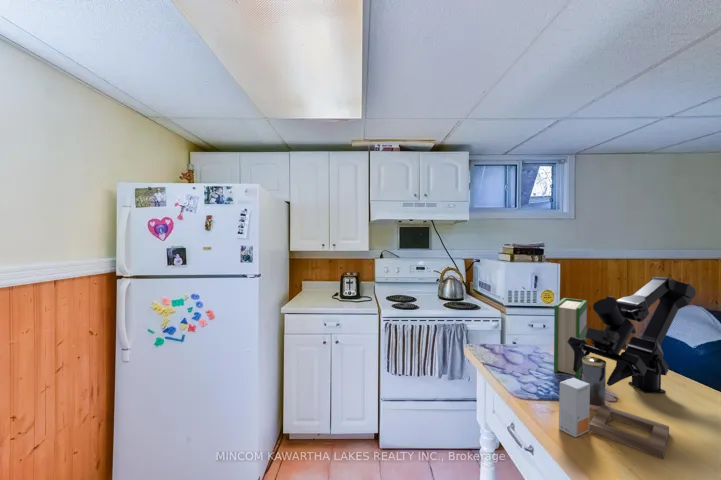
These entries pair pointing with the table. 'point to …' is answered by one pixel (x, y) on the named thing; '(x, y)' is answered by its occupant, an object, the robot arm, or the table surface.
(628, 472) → the table surface
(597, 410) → the coaster
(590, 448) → the table surface
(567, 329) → the hardback book
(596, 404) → the tea tin
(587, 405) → the skincare box
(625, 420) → the pocket frame
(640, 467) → the table surface
